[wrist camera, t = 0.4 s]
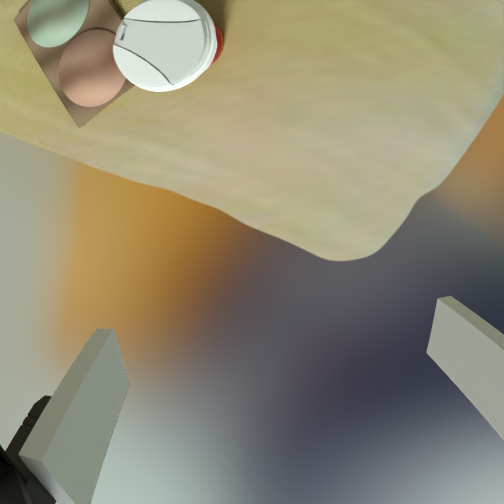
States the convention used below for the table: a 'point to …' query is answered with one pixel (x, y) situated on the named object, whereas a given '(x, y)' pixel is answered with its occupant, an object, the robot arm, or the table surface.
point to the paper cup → (166, 44)
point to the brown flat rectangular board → (76, 51)
